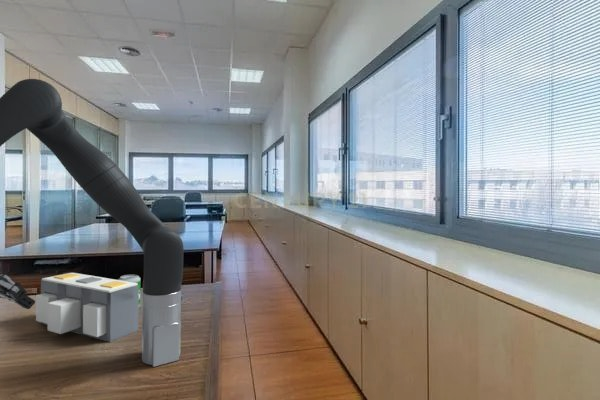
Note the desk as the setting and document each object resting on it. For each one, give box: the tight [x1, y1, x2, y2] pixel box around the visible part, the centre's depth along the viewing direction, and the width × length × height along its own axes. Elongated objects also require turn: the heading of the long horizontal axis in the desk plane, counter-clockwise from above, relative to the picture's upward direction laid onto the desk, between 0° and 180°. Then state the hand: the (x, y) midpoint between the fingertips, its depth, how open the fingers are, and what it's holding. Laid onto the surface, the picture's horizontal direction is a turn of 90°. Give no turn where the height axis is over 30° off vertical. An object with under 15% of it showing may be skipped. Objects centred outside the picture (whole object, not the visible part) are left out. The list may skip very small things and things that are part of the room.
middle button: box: [47, 297, 81, 335], centre depth 102 cm, size 9×6×8 cm, turn 157°
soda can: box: [117, 274, 141, 308], centre depth 123 cm, size 8×8×12 cm
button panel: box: [40, 272, 139, 343], centre depth 107 cm, size 10×32×15 cm, turn 67°
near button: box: [83, 302, 107, 337], centre depth 100 cm, size 9×6×8 cm, turn 157°
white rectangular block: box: [35, 293, 58, 324], centre depth 109 cm, size 9×6×8 cm, turn 157°
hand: (30, 305), depth 82 cm, fingers closed
